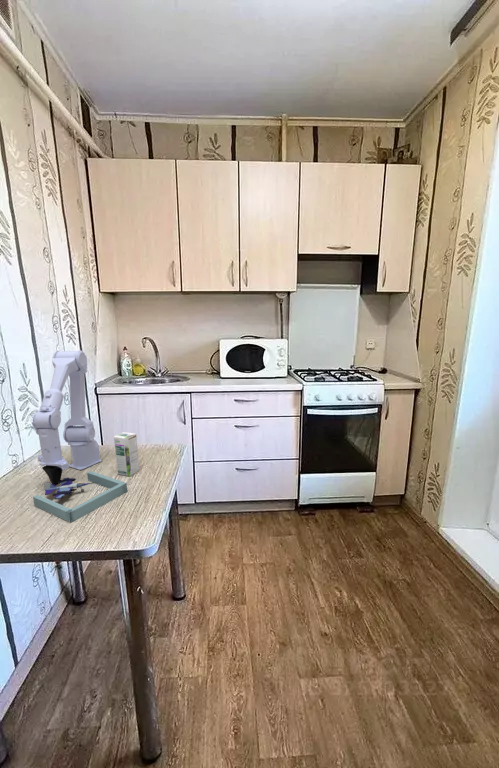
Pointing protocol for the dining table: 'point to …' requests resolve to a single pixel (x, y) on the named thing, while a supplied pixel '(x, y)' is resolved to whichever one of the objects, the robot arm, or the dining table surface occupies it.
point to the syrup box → (126, 453)
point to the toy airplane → (63, 487)
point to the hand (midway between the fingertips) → (56, 484)
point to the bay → (88, 506)
